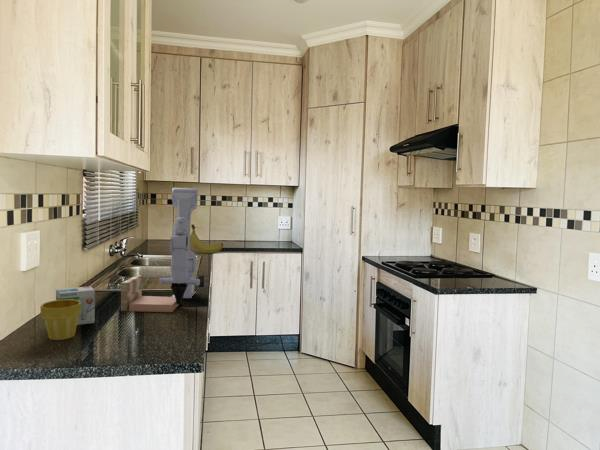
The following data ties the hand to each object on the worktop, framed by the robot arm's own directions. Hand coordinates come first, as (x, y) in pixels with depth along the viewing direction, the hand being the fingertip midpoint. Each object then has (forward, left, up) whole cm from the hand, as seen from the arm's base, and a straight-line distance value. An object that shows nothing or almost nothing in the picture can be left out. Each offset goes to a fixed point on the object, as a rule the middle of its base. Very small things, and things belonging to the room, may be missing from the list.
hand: (179, 303), depth 165 cm
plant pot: (+36, -24, -2) cm, 43 cm away
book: (0, -9, -2) cm, 9 cm away
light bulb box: (+22, -27, -2) cm, 35 cm away
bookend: (-1, -18, -1) cm, 18 cm away
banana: (-145, -21, -2) cm, 147 cm away
